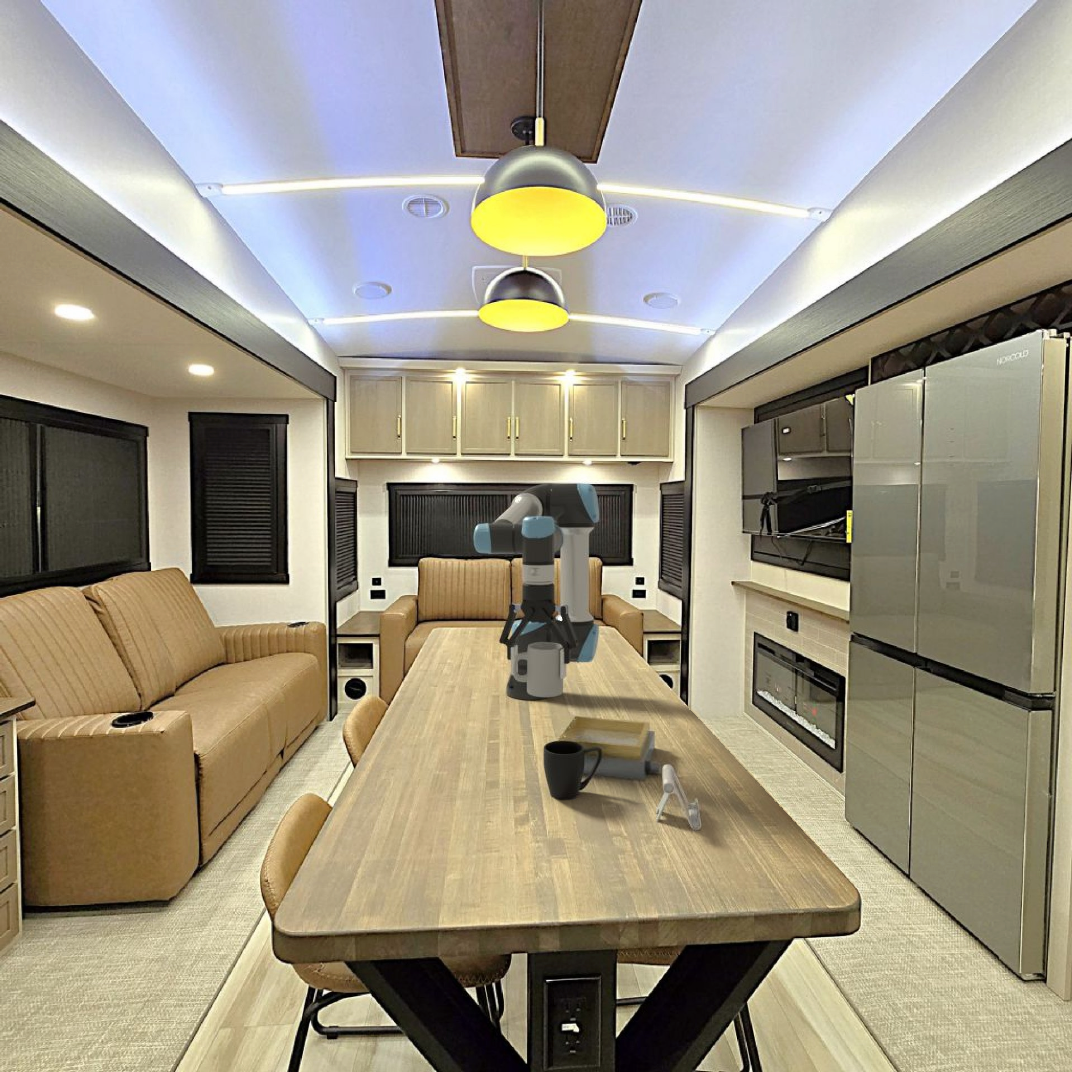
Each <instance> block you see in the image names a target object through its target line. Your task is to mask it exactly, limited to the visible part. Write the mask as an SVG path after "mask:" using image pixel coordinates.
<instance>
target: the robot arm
mask: <svg viewBox="0 0 1072 1072" xmlns="http://www.w3.org/2000/svg"><path fill="white" fill-rule="evenodd" d="M597 495H598V494H597V490H596V488H595V487H594V486H593V484H590V483H579V482H578V483H576V482H575V483H542V484H538V485H534V486H532V487H530V488H527V489H525V490H524V491H521V492H520V493H518V494H517V495H516V496H515V497H514V498H513V499H512V502H511V504H510V507H508V508H507V509H505V511H504V512H503V513H502V514H501V515H499V517H498V518H497V519H495V521H494V522H492V523H488V522H486V523H478V524H477V525H476V526H475V527H474V528H475V529H474V532H473V546H474V549H475V550H476V552H477V553H480V554H488V555H491V554H492V555H499V554H501V555H502V554H503V555H509V554H512V555H514V554H515V555H522V557H521V558H522V559H521V560H522V564H521V565H522V567H521V568H522V569H521V570H522V581H523V582H524V583H523V584H522V585H521V591H522V593H521V595H522V596H521V597H522V601H521V603H516V602H513V603H510V604H509V605H508V616H507V618H506V620H505V623H504V626H503V628H502V632H501V635H500V637H499V640H498V641H499V643H500V644H501V645H502V644H503V645H504V646H506V659H507V660H508V661H510V674H509V676H508V679H507V683H506V686H505V691H506V693H505V694H506V695H507V696H508V697H510V698H513V699H517V700H526V701H527V700H528V701H534V700H543V699H549V697H537V696H533V695H530V694H528V692H527V682H519V681H517V680H516V679H515V678H514V675H513V660H514V658H515V656H516V655H517V654H519V653H524V652H527V651H528V645H530V644H533V643H540V642H549V643H557V644H561V645H562V647H563V649H562V650H560V679H563V680H564V679H565V678H567V665H569V664H570V663H576V664H579V663H590V662H592V661H593V660H594V658H595V656H596V653H597V649H598V648H597V647H598V643H599V635H600V634H599V633H600V630H599V629H600V626H599V624H597V623H595V618H594V617H593V616H592V614H591V613H590V611H589V610H590V609H589V607H590V600H589V597H590V596H589V593H590V586H589V585H590V583H589V582H590V576H589V575H590V572H589V571H590V568H589V566H590V564H589V563H590V557H589V556H590V555H589V554H590V551H589V549H590V548H589V547H590V546H589V545H590V544H589V543H590V540H589V539H590V533H591V532H592V531H593V530H594V529H595V524H596V523H599V521H600V507H599V501H598V500H599V499H598V496H597ZM558 551H560V605H557V604H556V603H555V602H556V601H555V599H556V598H555V584H554V583H553V582H555V580H556V579H555V578H556V577H555V576H556V575H555V554H556V553H557V552H558ZM520 610H521V612H522V613H523V615H524V616H523V618H522V619H519V620H517V621H515V620H516V617H517V615H518V613H519V612H520ZM555 612H557V615H556V616H554V614H555ZM510 634H511V636H510ZM517 673H518V674H519V675H526V674H527V660H524V659H520V660H519V661H518V662H517Z"/></svg>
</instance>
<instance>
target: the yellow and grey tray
mask: <svg viewBox="0 0 1072 1072" xmlns="http://www.w3.org/2000/svg"><path fill="white" fill-rule="evenodd" d="M650 727H651V724H650V722H648V721H647V722H645V721H637V720H634V721H633V720H623V719H611V718H603V717H602V718H600V717H590V716H577V715H575V716H574V717H573V718H572V720H571V722H569V724H568V725H567V727H566V729H565V730H564V731H563V733H562V734H561V735H560V736H559V738H558V739H557V741H573V742H577V743H580V744H582V745H583V746H584V748H585V749H586V748H590V747H599V748H601V750H602V759H601V762H600V764H599V766H598V768H597V769H596V771H595V773H594V775H593V776H598V777H606V778H614V779H615V778H617V779H623V780H625V779H626V780H634V781H642V782H645V780H646V777H647V774H656V775H659V774H660V772H661V771H660V770H661V764H660V763H661V762H659V761H653V760H652V757H653V754H654V751H655V748H656V747H655V742H656V741H655V740H656V739H655V738H656V735H655V731H654V730H653V731H652V730H650V729H651V728H650ZM597 757H598V751H590V752H588V753H585V763H584V771H583V775H586V776H588V775H589V773H590V772H591V770H592V768H593V766H594V764H595V762H596V760H597ZM651 760H652V761H651Z"/></svg>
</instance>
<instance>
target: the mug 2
mask: <svg viewBox="0 0 1072 1072" xmlns="http://www.w3.org/2000/svg"><path fill="white" fill-rule="evenodd" d="M542 749H543V769H544V774H545V780H546V782H547V783H546V784H547V787H548V790H549V793H550V796H551V797H552V798H554V799H556V800H561V801H562V800H563V801H569V800H572V799H575V798H577V797H578V795H579V792H580V791H583V790H584V789H585V788H586V787H587V786H588V785H589V783H590V782H591V780H592V778H593V776H595V775H594V773H595V771H596V769H597V768H598V766H599V764H600V762H601V759H602V750H601V748H599V747H590V748H586V749H585V748H584V746H583V745H582V744H580V743H577V742H573V741H558V740H555V741H550V742H548V743H546V744H545V745H544V746H543V748H542ZM590 751H598V757H597V760H596V762H595V764H594V766H593V768H592V770H591V772H590V773H589V775H586V777H585V778H584V780H583V776H584V774H583V771H584V763H585V753H588V752H590ZM582 780H583V781H582Z"/></svg>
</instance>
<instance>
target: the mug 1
mask: <svg viewBox="0 0 1072 1072" xmlns="http://www.w3.org/2000/svg"><path fill="white" fill-rule="evenodd" d="M562 649H563V647H562V645H561V644H557V643H549V642H540V643H533V644H530V645H528V651H527V652H524V653H519V654H517V655H516V656H515V658H514V660H513V675H514V678H515V679H516V680H517V681H519V682H527V692H528V694H530V695H533V696H537V697H548V698H554V697H558V696H561V695H562V694H563V693H564V679H560V650H562ZM520 659H524V660H527V674H526V675H519V674H518V673H517V662H518V661H519V660H520Z"/></svg>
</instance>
